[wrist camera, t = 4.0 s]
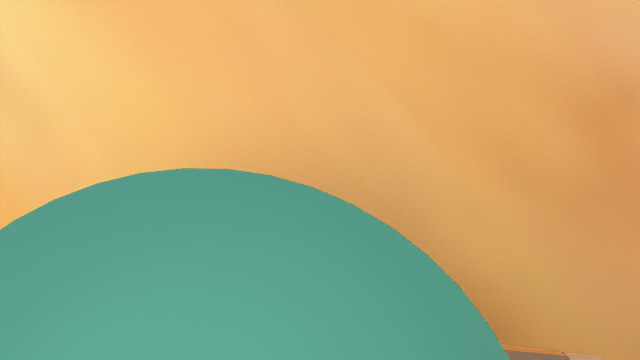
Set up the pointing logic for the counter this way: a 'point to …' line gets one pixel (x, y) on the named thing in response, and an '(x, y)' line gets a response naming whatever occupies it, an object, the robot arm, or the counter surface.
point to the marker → (224, 277)
